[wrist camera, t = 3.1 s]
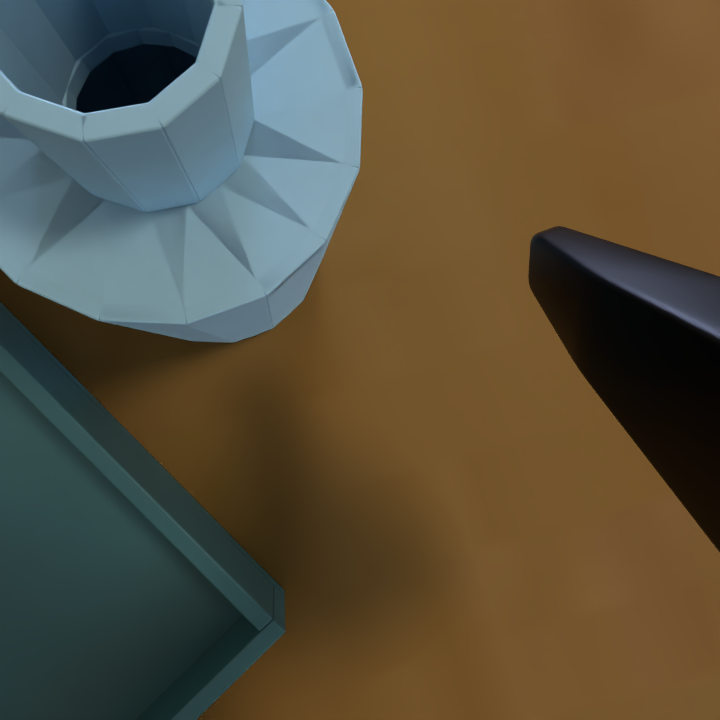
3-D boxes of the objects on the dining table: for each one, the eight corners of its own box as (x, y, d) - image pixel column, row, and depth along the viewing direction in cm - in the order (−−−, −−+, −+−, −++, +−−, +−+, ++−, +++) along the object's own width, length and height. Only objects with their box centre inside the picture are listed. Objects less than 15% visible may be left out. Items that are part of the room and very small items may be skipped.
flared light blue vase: (361, 248, 20) (516, 36, 7) (212, 384, 19) (71, 436, 6) (222, 95, 19) (104, -455, 6) (64, 230, 18) (-430, -67, 6)
